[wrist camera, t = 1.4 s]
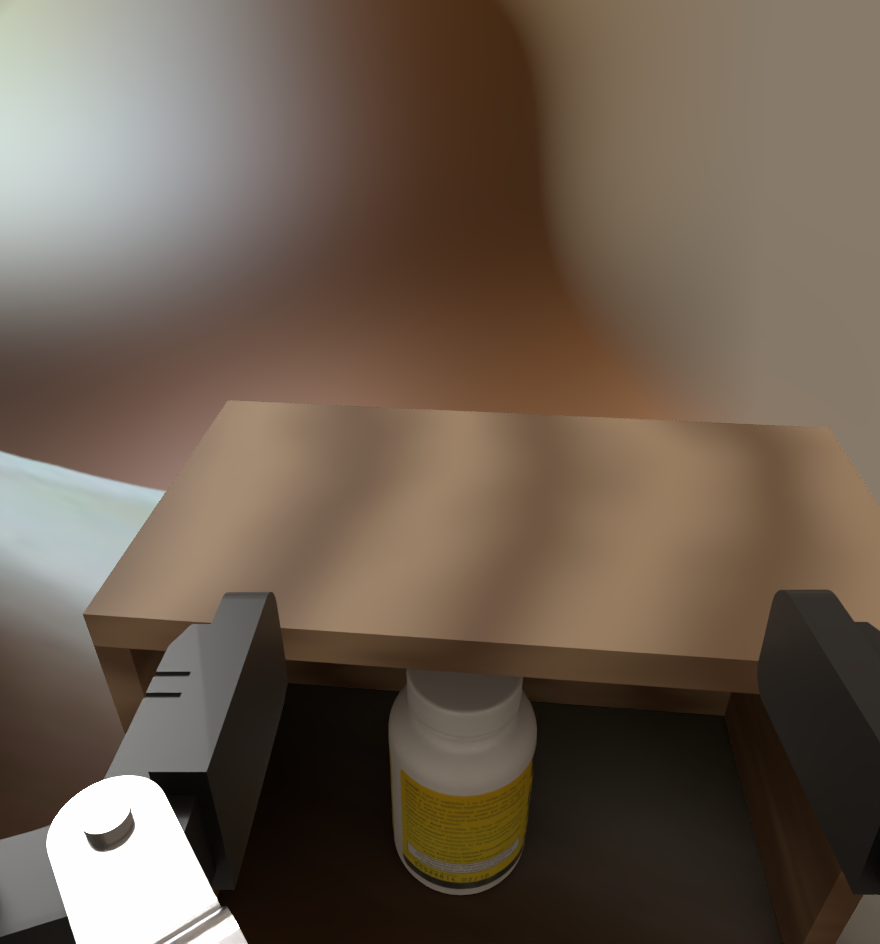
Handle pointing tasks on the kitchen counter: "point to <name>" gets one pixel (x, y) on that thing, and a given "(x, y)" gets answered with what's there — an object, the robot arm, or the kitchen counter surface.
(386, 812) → the kitchen counter surface
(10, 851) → the robot arm
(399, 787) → the supplement bottle
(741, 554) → the cubby
